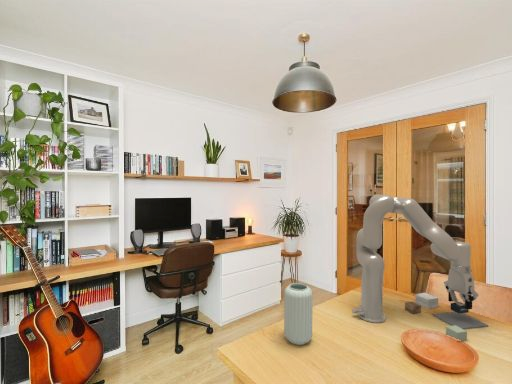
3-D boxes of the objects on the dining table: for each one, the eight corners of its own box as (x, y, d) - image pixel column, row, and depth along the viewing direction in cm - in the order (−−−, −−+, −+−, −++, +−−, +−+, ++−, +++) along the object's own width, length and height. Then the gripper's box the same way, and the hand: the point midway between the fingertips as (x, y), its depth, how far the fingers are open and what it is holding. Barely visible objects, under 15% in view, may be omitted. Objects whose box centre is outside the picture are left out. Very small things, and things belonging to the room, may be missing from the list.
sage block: (456, 342, 110) (456, 332, 110) (445, 335, 115) (446, 326, 115) (466, 340, 111) (466, 331, 111) (455, 334, 116) (455, 325, 116)
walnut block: (412, 314, 134) (412, 306, 134) (404, 309, 139) (405, 302, 139) (420, 313, 135) (421, 305, 135) (413, 309, 140) (413, 301, 140)
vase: (295, 329, 120) (295, 279, 119) (317, 339, 111) (318, 286, 111) (278, 339, 112) (278, 286, 111) (301, 351, 103) (301, 294, 103)
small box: (438, 307, 142) (438, 297, 142) (428, 309, 140) (428, 299, 139) (424, 301, 150) (425, 292, 150) (414, 303, 147) (414, 294, 147)
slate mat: (459, 329, 119) (459, 328, 119) (432, 315, 133) (432, 313, 133) (488, 326, 122) (488, 325, 122) (459, 312, 136) (459, 311, 136)
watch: (463, 315, 123) (463, 291, 123) (447, 308, 131) (447, 285, 131) (472, 314, 124) (473, 290, 124) (456, 306, 132) (456, 284, 132)
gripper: (485, 273, 119) (485, 312, 120) (450, 262, 136) (450, 296, 137) (471, 274, 118) (471, 314, 118) (437, 263, 135) (437, 298, 135)
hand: (459, 304), depth 128 cm, fingers closed on watch, 8 cm apart
